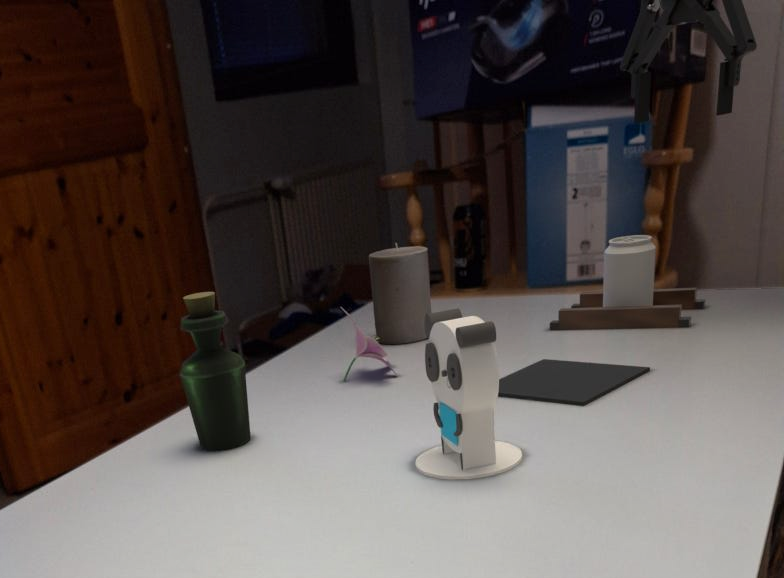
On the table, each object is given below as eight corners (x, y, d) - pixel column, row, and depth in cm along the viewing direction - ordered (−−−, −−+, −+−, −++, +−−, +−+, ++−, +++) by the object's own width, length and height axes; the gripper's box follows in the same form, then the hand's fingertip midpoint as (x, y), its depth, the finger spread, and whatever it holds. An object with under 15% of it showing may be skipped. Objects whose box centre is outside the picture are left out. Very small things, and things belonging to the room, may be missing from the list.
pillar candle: (364, 344, 157) (355, 249, 150) (398, 330, 163) (390, 238, 156) (412, 345, 151) (404, 247, 144) (445, 331, 157) (439, 236, 150)
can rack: (705, 306, 147) (706, 287, 146) (688, 327, 137) (690, 306, 136) (573, 311, 157) (573, 292, 156) (549, 330, 147) (549, 310, 146)
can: (624, 326, 143) (627, 243, 137) (592, 320, 149) (593, 240, 143) (663, 316, 145) (667, 234, 139) (629, 311, 151) (632, 232, 146)
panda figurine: (400, 454, 105) (388, 317, 98) (495, 435, 107) (490, 299, 99) (435, 487, 95) (425, 337, 88) (539, 465, 96) (537, 316, 89)
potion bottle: (250, 428, 122) (226, 285, 114) (263, 444, 115) (238, 293, 107) (190, 440, 121) (161, 297, 112) (199, 458, 114) (168, 306, 105)
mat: (650, 371, 121) (650, 367, 120) (583, 406, 112) (583, 402, 111) (543, 362, 131) (543, 358, 131) (475, 394, 122) (474, 390, 122)
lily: (383, 397, 131) (408, 329, 128) (307, 368, 132) (330, 300, 129) (395, 399, 142) (419, 337, 139) (325, 373, 144) (347, 311, 141)
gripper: (598, -37, 135) (595, 128, 146) (764, -78, 117) (747, 113, 128) (630, -39, 139) (624, 122, 149) (795, -79, 121) (776, 107, 131)
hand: (681, 118), depth 138 cm, fingers open, 13 cm apart
